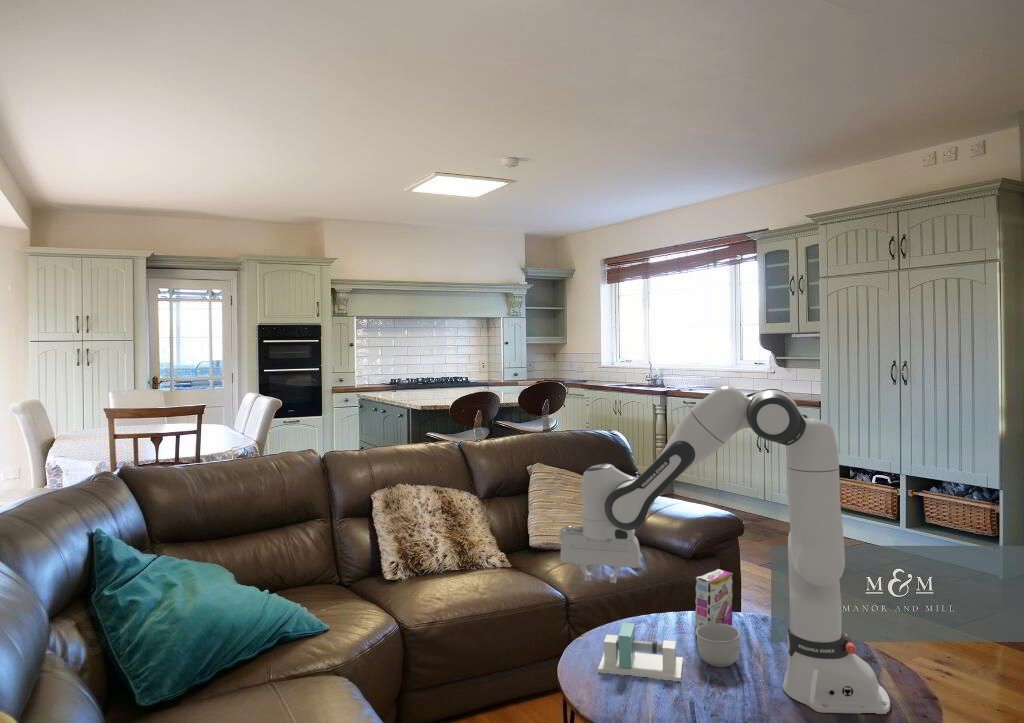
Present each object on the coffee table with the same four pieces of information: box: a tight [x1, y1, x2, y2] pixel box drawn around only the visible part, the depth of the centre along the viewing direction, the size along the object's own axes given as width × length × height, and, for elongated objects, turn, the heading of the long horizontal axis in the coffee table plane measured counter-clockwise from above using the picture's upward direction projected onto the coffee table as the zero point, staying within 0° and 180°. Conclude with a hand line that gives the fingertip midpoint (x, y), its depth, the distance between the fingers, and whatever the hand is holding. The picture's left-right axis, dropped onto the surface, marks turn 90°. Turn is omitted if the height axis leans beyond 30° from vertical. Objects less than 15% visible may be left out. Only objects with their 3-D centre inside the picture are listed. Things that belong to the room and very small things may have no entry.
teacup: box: [695, 621, 741, 668], centre depth 186 cm, size 14×11×8 cm
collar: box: [618, 622, 636, 668], centre depth 183 cm, size 3×8×8 cm, turn 164°
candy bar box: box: [694, 568, 733, 636], centre depth 201 cm, size 11×5×16 cm, turn 130°
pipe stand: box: [597, 634, 684, 683], centre depth 183 cm, size 20×11×7 cm, turn 74°
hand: (600, 581), depth 184 cm, fingers open, 5 cm apart
